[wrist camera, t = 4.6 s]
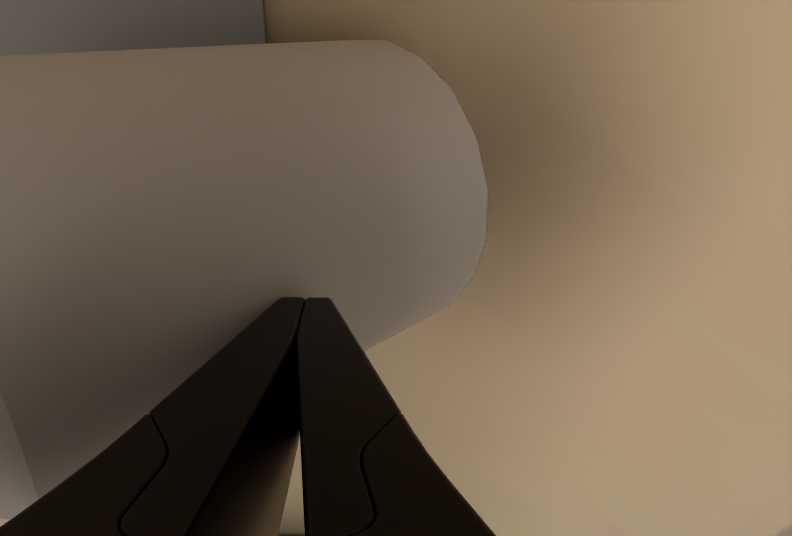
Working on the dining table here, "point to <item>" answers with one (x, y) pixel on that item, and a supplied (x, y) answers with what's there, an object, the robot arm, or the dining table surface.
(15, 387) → the can
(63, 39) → the mat
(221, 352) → the robot arm
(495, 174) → the dining table surface
